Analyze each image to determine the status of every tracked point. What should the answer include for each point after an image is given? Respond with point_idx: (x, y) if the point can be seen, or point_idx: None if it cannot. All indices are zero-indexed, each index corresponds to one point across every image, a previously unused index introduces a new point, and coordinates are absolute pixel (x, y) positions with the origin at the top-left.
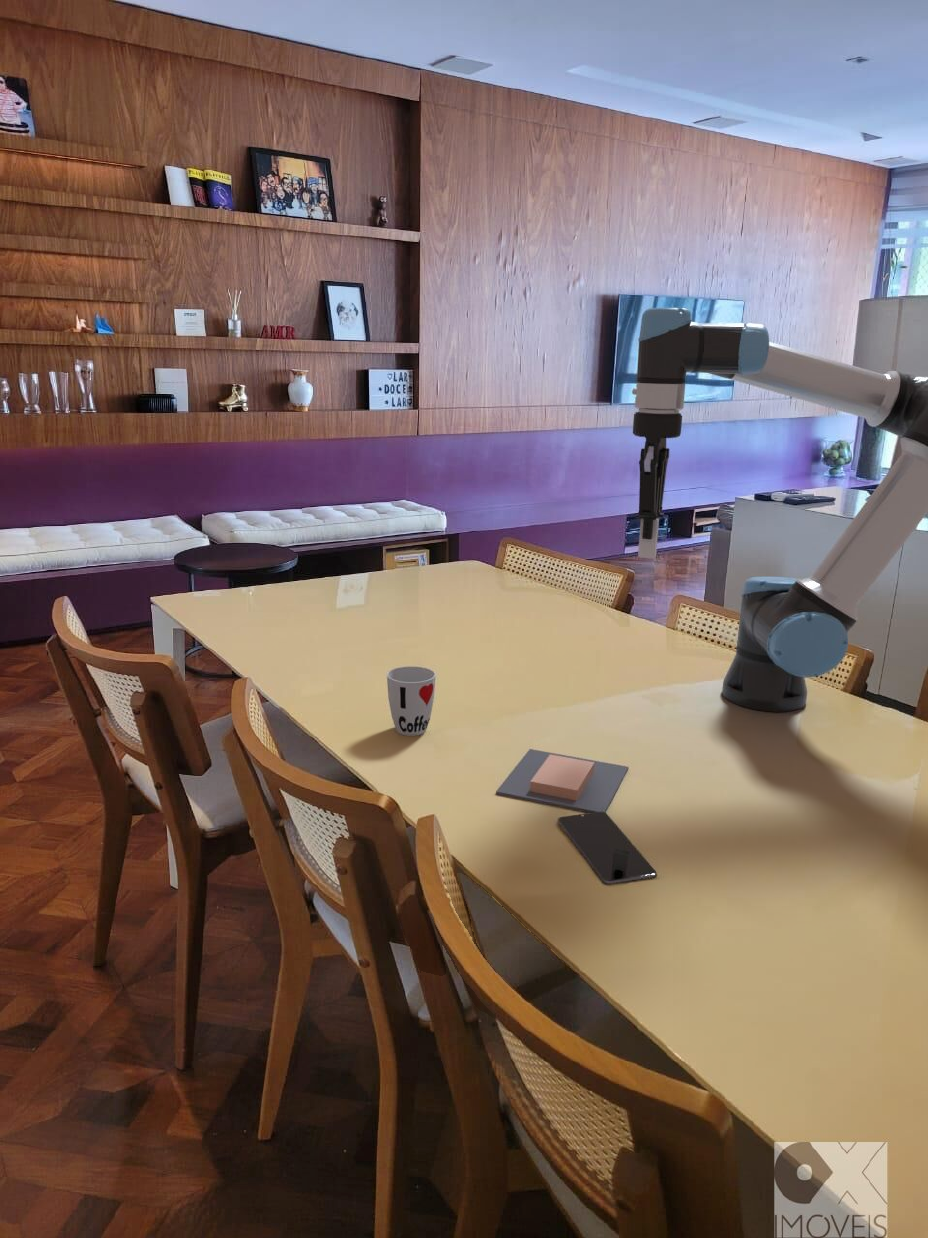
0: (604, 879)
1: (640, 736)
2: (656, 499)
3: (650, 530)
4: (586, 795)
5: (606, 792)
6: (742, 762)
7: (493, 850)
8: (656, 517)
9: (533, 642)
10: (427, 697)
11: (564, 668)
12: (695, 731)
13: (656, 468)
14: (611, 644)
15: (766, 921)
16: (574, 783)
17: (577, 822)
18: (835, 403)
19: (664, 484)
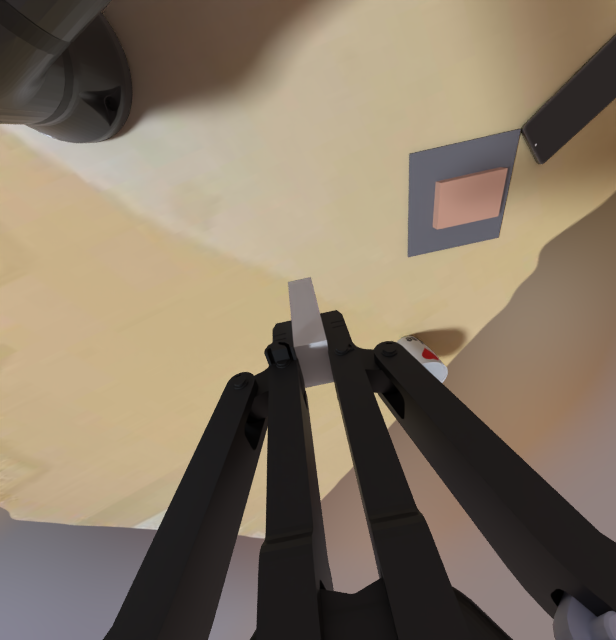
0: None
1: (320, 179)
2: (374, 400)
3: (346, 327)
4: (488, 163)
5: (476, 148)
6: (326, 12)
7: (590, 188)
8: (345, 344)
9: (157, 382)
10: (427, 352)
11: (198, 329)
12: (266, 122)
13: (608, 592)
14: (83, 329)
15: None
16: (493, 178)
17: (549, 143)
18: None
19: (185, 483)
